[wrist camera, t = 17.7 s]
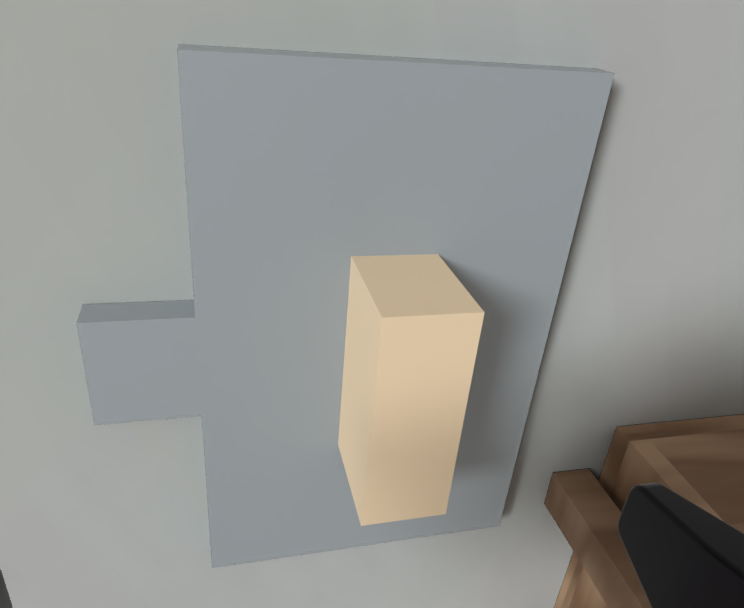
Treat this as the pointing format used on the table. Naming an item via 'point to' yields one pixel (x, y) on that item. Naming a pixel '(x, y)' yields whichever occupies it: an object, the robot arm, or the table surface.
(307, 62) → the lid
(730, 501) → the brown wooden box
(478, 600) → the table surface
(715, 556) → the robot arm
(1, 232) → the table surface
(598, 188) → the table surface
